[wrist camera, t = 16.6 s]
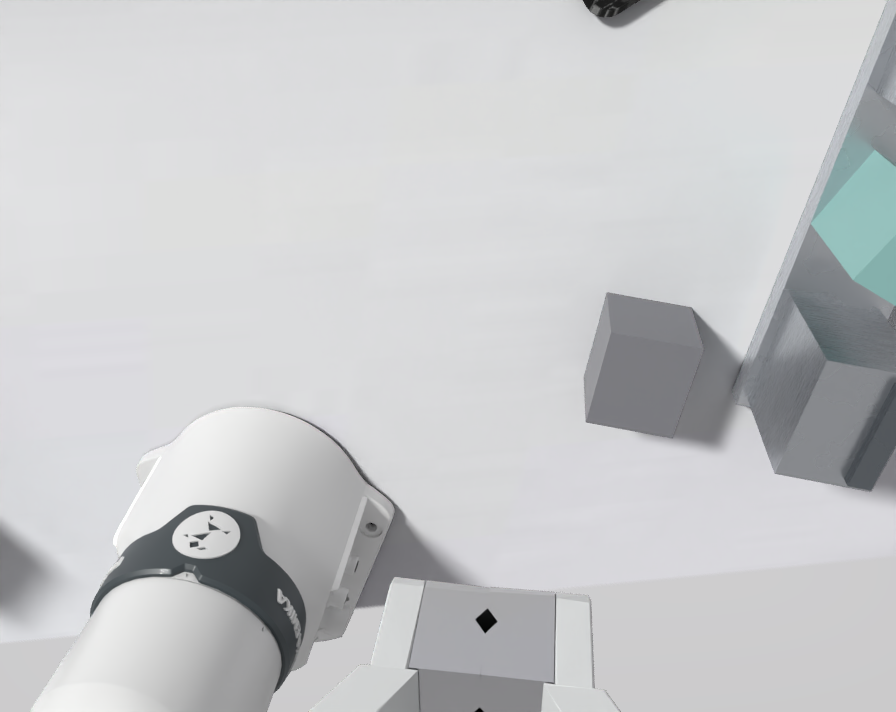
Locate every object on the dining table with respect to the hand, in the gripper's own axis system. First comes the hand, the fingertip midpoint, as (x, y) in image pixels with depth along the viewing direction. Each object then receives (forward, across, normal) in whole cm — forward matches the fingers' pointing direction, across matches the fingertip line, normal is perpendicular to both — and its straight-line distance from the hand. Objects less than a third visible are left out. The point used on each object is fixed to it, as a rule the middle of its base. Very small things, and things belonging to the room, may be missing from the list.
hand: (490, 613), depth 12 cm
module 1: (+34, -6, +14) cm, 38 cm away
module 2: (+33, -17, +5) cm, 37 cm away
